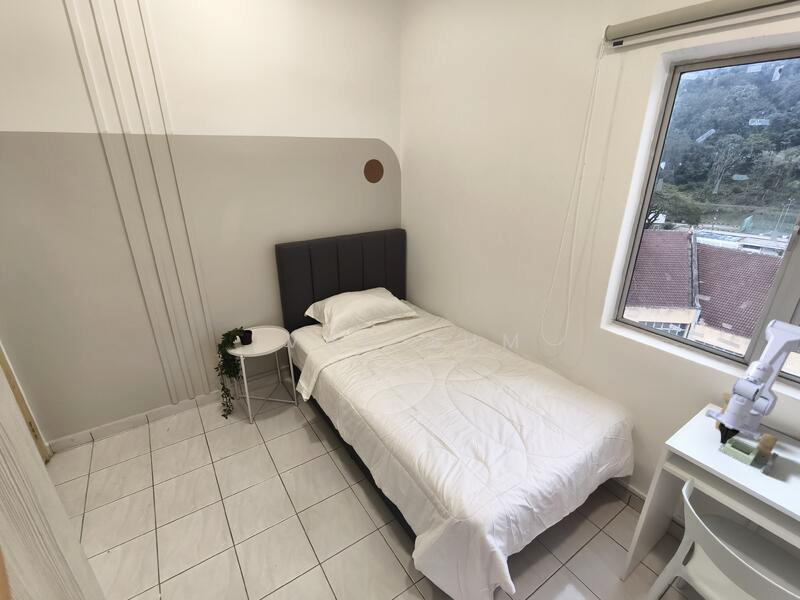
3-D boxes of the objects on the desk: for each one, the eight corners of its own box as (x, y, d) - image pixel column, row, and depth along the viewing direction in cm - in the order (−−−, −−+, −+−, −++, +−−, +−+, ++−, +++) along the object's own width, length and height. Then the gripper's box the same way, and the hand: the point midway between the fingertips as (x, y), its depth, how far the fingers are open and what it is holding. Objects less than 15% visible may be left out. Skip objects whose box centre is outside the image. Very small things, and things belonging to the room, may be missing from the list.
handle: (729, 438, 135) (744, 405, 129) (707, 429, 139) (721, 396, 134) (731, 432, 138) (746, 399, 132) (710, 423, 143) (724, 391, 137)
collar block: (729, 442, 132) (731, 436, 131) (756, 455, 126) (758, 450, 125) (722, 451, 128) (724, 445, 127) (749, 465, 122) (752, 459, 121)
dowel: (756, 447, 130) (764, 432, 127) (770, 454, 127) (778, 438, 124) (753, 452, 128) (761, 436, 125) (767, 458, 125) (775, 442, 122)
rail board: (729, 436, 136) (734, 425, 134) (776, 458, 126) (782, 447, 125) (716, 452, 129) (721, 441, 127) (765, 477, 119) (771, 466, 117)
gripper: (707, 404, 128) (694, 434, 133) (762, 428, 117) (746, 460, 123) (714, 397, 132) (702, 427, 137) (768, 420, 121) (752, 451, 126)
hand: (723, 442), depth 130 cm, fingers closed
